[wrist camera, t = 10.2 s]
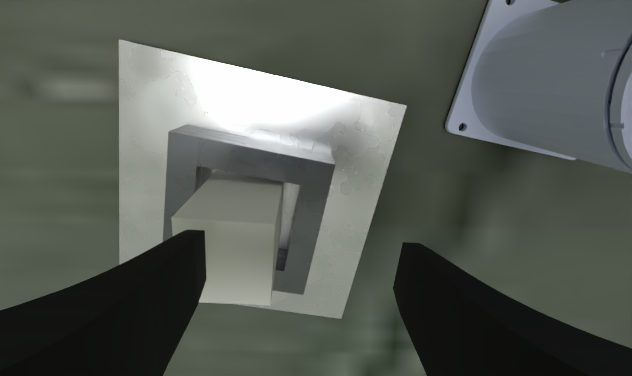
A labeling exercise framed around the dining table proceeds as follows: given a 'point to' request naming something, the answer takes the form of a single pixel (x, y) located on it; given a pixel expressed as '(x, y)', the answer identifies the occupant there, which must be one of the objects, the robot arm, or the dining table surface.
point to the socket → (254, 162)
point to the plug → (236, 235)
